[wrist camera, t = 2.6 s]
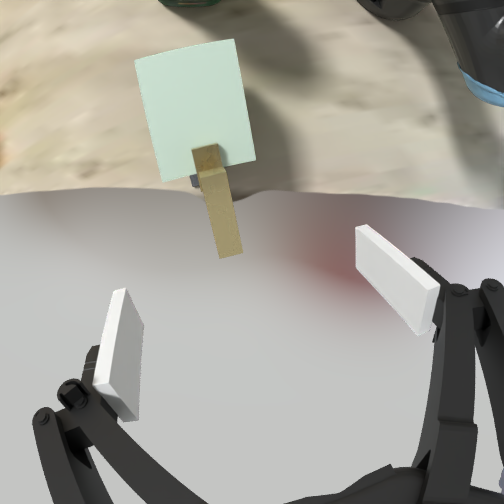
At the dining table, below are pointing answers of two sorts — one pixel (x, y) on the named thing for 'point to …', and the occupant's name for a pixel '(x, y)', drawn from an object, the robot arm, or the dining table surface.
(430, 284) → the robot arm
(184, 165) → the mint green block
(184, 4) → the coffee jar
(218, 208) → the t key
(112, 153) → the dining table surface
